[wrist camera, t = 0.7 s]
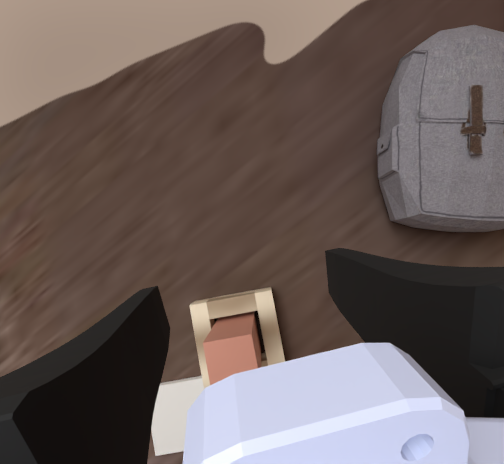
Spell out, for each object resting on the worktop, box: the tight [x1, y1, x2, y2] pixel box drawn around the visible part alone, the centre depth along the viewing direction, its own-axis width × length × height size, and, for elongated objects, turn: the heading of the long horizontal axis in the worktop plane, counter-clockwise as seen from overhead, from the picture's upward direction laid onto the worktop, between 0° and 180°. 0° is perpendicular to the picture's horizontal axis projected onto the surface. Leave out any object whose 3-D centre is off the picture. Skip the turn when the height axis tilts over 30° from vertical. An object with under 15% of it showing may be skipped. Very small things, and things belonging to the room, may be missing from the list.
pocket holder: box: [190, 287, 285, 389], centre depth 29 cm, size 8×8×2 cm
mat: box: [151, 376, 204, 456], centre depth 30 cm, size 7×6×1 cm
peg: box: [203, 311, 261, 385], centre depth 26 cm, size 4×4×8 cm
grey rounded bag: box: [377, 25, 504, 232], centre depth 26 cm, size 15×8×20 cm
